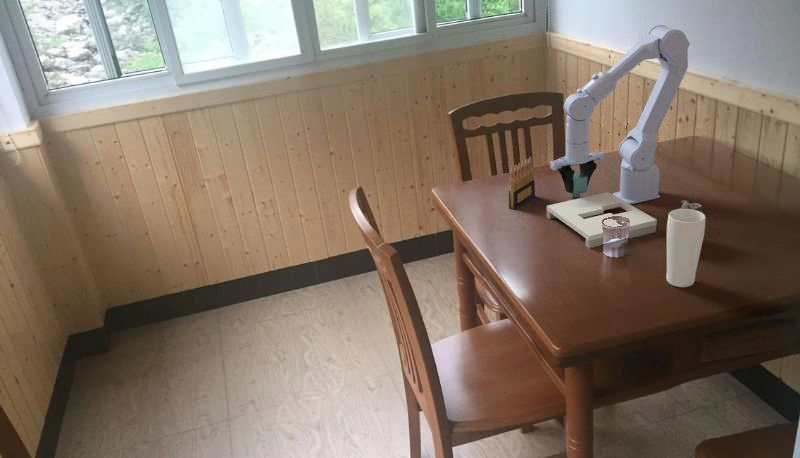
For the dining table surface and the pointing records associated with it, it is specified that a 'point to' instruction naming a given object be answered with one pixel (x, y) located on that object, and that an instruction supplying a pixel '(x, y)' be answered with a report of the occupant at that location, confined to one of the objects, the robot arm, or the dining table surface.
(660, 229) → the dining table surface
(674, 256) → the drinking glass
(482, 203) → the dining table surface
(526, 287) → the dining table surface
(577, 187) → the peg
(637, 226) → the keyhole plate
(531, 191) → the ammunition clip
